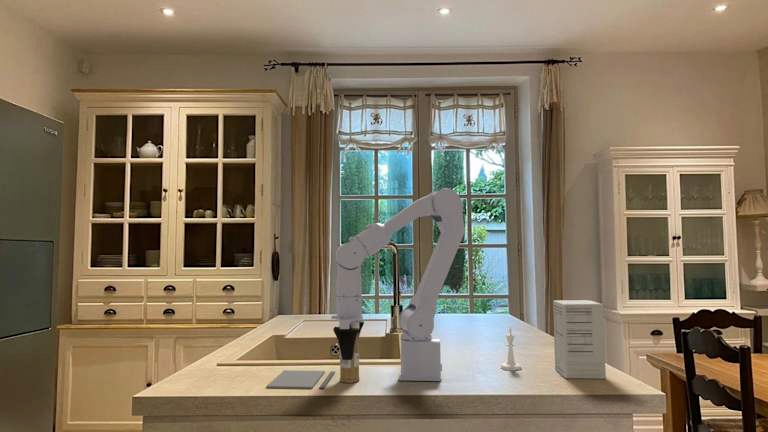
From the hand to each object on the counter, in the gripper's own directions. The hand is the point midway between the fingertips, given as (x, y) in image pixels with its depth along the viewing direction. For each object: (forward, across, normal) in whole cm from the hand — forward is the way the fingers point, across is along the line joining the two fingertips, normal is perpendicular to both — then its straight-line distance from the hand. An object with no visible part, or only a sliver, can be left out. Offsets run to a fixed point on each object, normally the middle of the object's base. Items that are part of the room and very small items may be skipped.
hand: (349, 356), depth 120 cm
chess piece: (+6, -14, +38) cm, 41 cm away
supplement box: (+6, -9, +53) cm, 54 cm away
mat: (+5, 0, -12) cm, 13 cm away
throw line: (+5, 0, -5) cm, 7 cm away
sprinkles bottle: (+6, 0, 0) cm, 6 cm away
